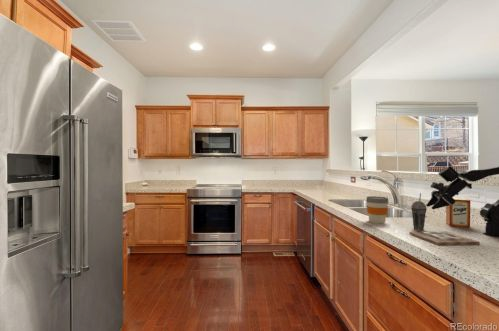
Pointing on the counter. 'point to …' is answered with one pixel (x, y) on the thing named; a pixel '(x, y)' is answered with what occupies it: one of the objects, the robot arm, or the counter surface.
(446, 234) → the base board
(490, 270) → the counter surface
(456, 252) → the counter surface
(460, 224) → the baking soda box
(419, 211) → the beverage cup
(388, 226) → the counter surface
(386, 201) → the reusable coffee cup
